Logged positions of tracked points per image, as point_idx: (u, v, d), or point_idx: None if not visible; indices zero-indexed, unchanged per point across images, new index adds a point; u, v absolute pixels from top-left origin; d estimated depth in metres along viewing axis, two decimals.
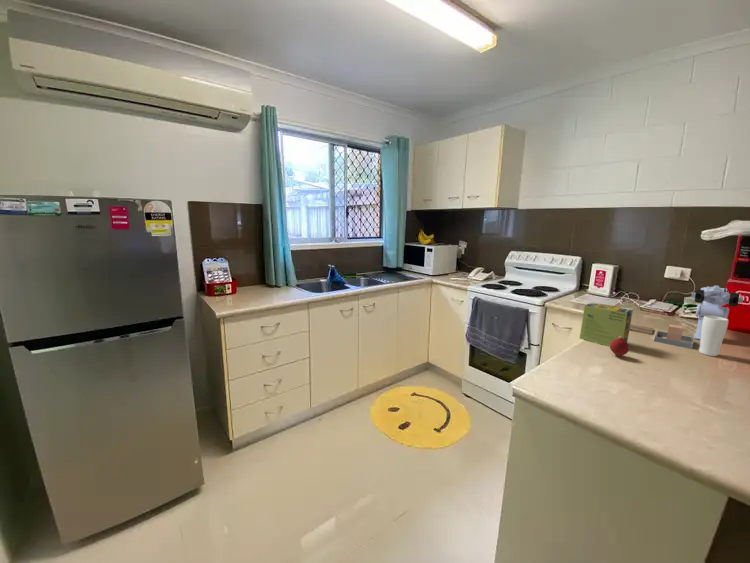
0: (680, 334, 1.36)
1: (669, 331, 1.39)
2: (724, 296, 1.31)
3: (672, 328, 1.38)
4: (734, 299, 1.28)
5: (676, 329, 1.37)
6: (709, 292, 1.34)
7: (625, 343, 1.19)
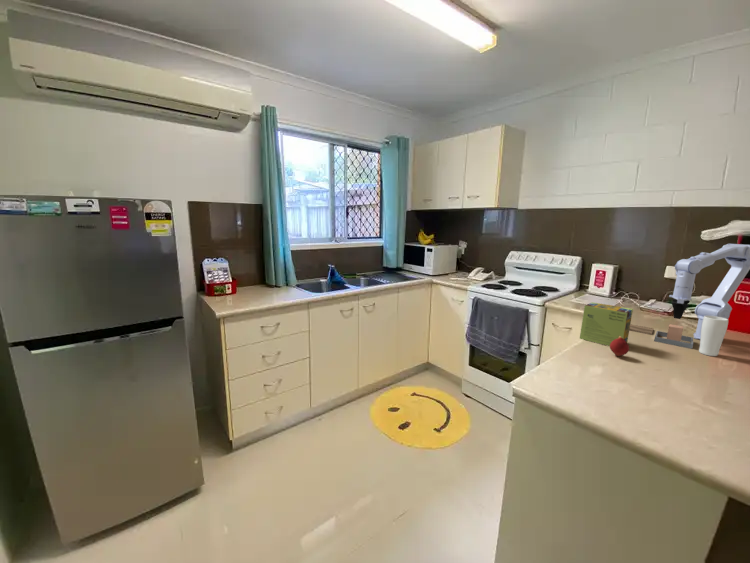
0: (680, 334, 1.36)
1: (669, 331, 1.39)
2: None
3: (672, 328, 1.38)
4: (679, 304, 1.36)
5: (676, 329, 1.37)
6: None
7: (625, 343, 1.19)
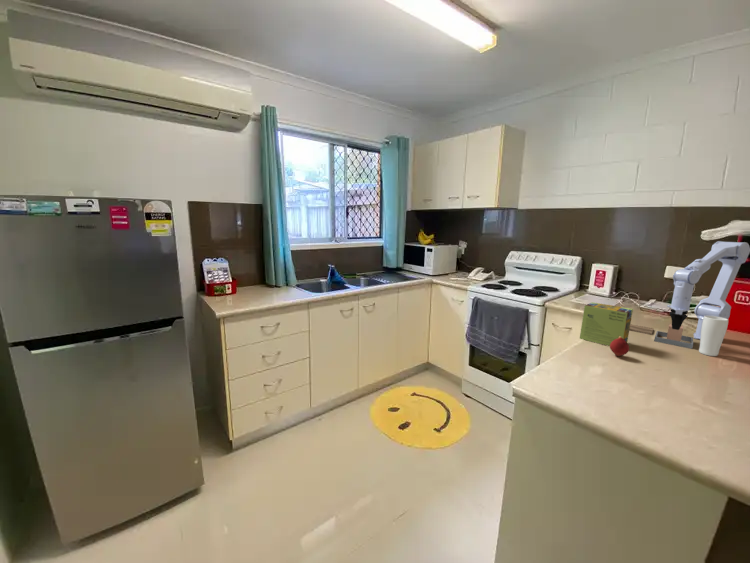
0: (680, 334, 1.36)
1: (669, 331, 1.39)
2: None
3: None
4: None
5: None
6: None
7: (625, 343, 1.19)
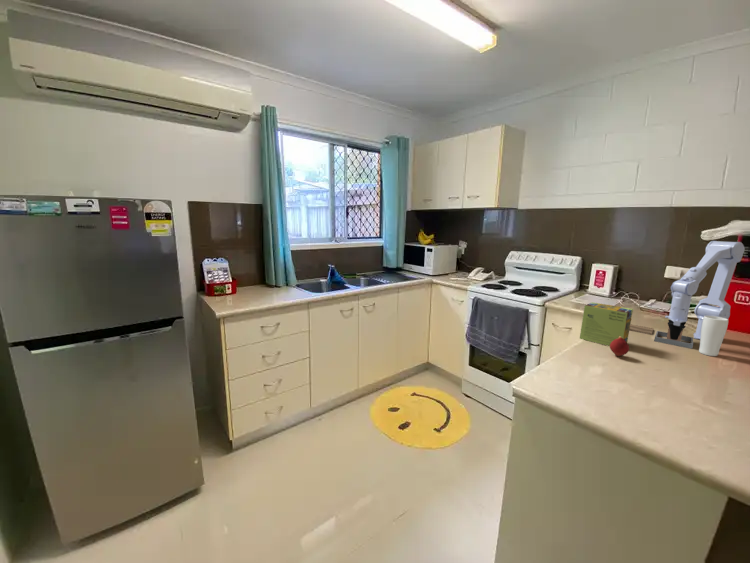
0: (680, 334, 1.36)
1: (669, 331, 1.39)
2: None
3: None
4: (675, 325, 1.36)
5: None
6: None
7: (625, 343, 1.19)
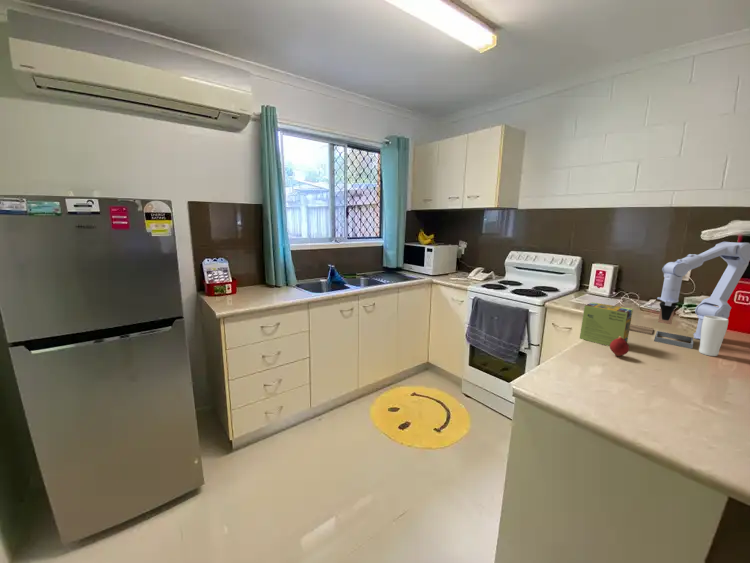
0: (671, 314, 1.40)
1: (661, 312, 1.42)
2: None
3: None
4: None
5: None
6: None
7: (625, 343, 1.19)
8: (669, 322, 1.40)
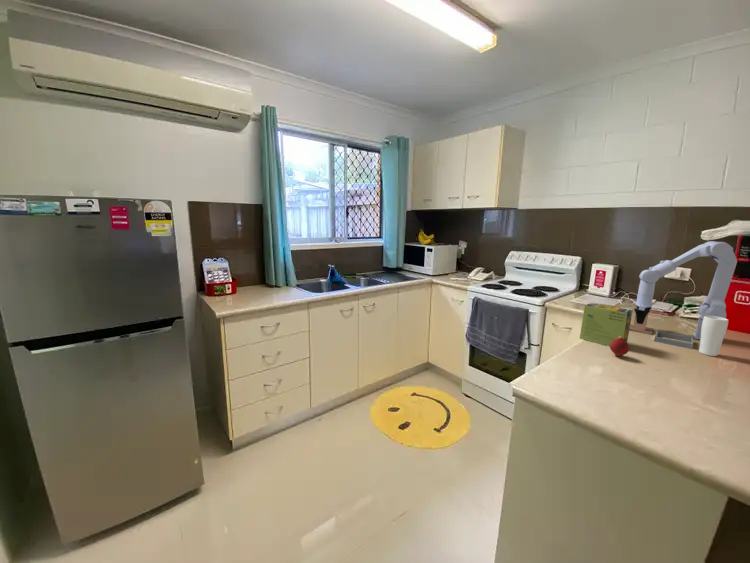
0: (645, 321, 1.51)
1: None
2: None
3: None
4: (641, 311, 1.50)
5: None
6: None
7: (625, 343, 1.19)
8: (643, 328, 1.52)
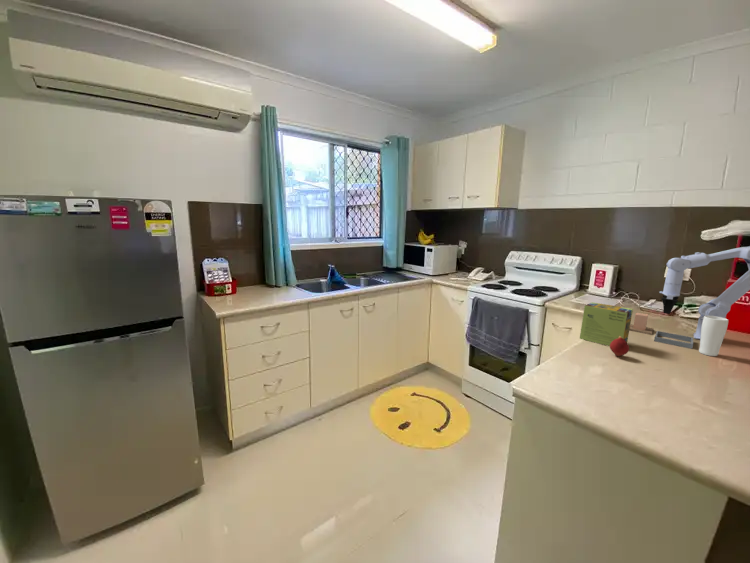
0: (645, 321, 1.51)
1: (636, 319, 1.54)
2: None
3: (638, 316, 1.53)
4: None
5: (642, 316, 1.52)
6: None
7: (625, 343, 1.19)
8: (643, 328, 1.52)
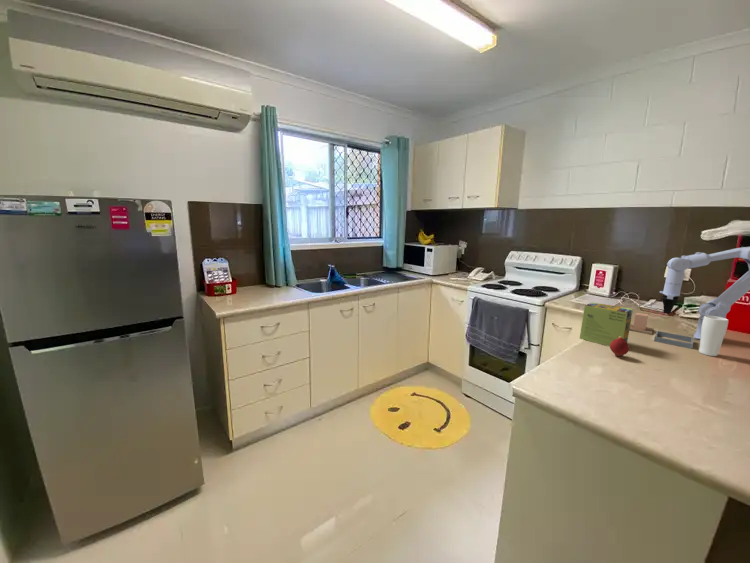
0: (645, 321, 1.51)
1: (636, 319, 1.54)
2: None
3: (638, 316, 1.53)
4: (669, 300, 1.45)
5: (642, 316, 1.52)
6: None
7: (625, 343, 1.19)
8: (643, 328, 1.52)
